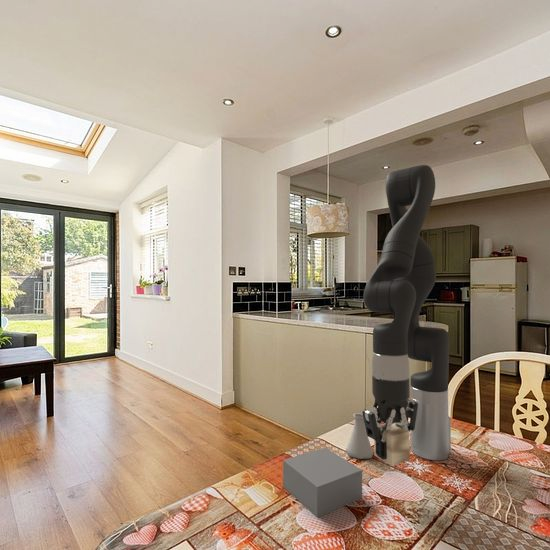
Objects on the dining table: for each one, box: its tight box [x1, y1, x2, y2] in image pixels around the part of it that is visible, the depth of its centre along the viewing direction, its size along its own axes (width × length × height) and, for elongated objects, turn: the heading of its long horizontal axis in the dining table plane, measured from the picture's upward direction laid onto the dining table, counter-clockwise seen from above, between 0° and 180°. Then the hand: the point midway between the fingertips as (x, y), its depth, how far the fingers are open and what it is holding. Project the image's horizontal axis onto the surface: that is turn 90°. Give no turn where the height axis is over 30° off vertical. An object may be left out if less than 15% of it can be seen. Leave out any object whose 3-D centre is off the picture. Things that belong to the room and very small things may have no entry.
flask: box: [345, 412, 374, 460], centre depth 92 cm, size 7×7×10 cm
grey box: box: [282, 447, 363, 518], centre depth 75 cm, size 12×12×6 cm
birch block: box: [373, 423, 411, 467], centre depth 74 cm, size 5×5×6 cm
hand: (391, 454), depth 74 cm, fingers closed on birch block, 5 cm apart
